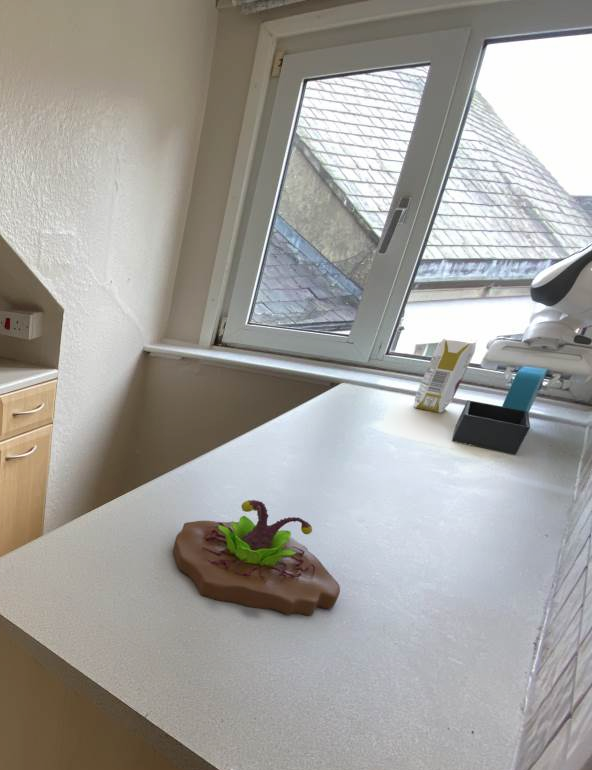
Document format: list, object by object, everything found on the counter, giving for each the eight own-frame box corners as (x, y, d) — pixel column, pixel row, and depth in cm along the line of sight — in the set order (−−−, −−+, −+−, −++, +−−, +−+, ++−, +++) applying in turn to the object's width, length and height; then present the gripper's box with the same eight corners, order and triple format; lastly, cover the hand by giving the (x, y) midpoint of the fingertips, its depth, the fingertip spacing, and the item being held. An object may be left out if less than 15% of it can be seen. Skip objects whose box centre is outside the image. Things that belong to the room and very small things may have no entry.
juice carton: (409, 407, 152) (439, 338, 144) (415, 401, 158) (444, 334, 149) (443, 414, 147) (476, 343, 139) (449, 408, 153) (480, 340, 144)
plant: (158, 527, 88) (173, 463, 83) (284, 537, 86) (307, 474, 81) (195, 607, 70) (217, 533, 65) (354, 623, 68) (390, 548, 63)
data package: (504, 410, 144) (524, 364, 139) (528, 414, 141) (549, 367, 136) (496, 418, 137) (517, 371, 132) (521, 423, 134) (543, 374, 129)
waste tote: (514, 437, 133) (528, 411, 131) (515, 455, 123) (530, 427, 120) (455, 424, 140) (467, 400, 137) (451, 440, 129) (464, 414, 126)
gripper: (494, 328, 143) (476, 371, 141) (608, 341, 131) (589, 389, 128) (487, 343, 148) (469, 385, 146) (595, 357, 136) (578, 403, 133)
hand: (526, 387), depth 137 cm, fingers closed on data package, 5 cm apart
